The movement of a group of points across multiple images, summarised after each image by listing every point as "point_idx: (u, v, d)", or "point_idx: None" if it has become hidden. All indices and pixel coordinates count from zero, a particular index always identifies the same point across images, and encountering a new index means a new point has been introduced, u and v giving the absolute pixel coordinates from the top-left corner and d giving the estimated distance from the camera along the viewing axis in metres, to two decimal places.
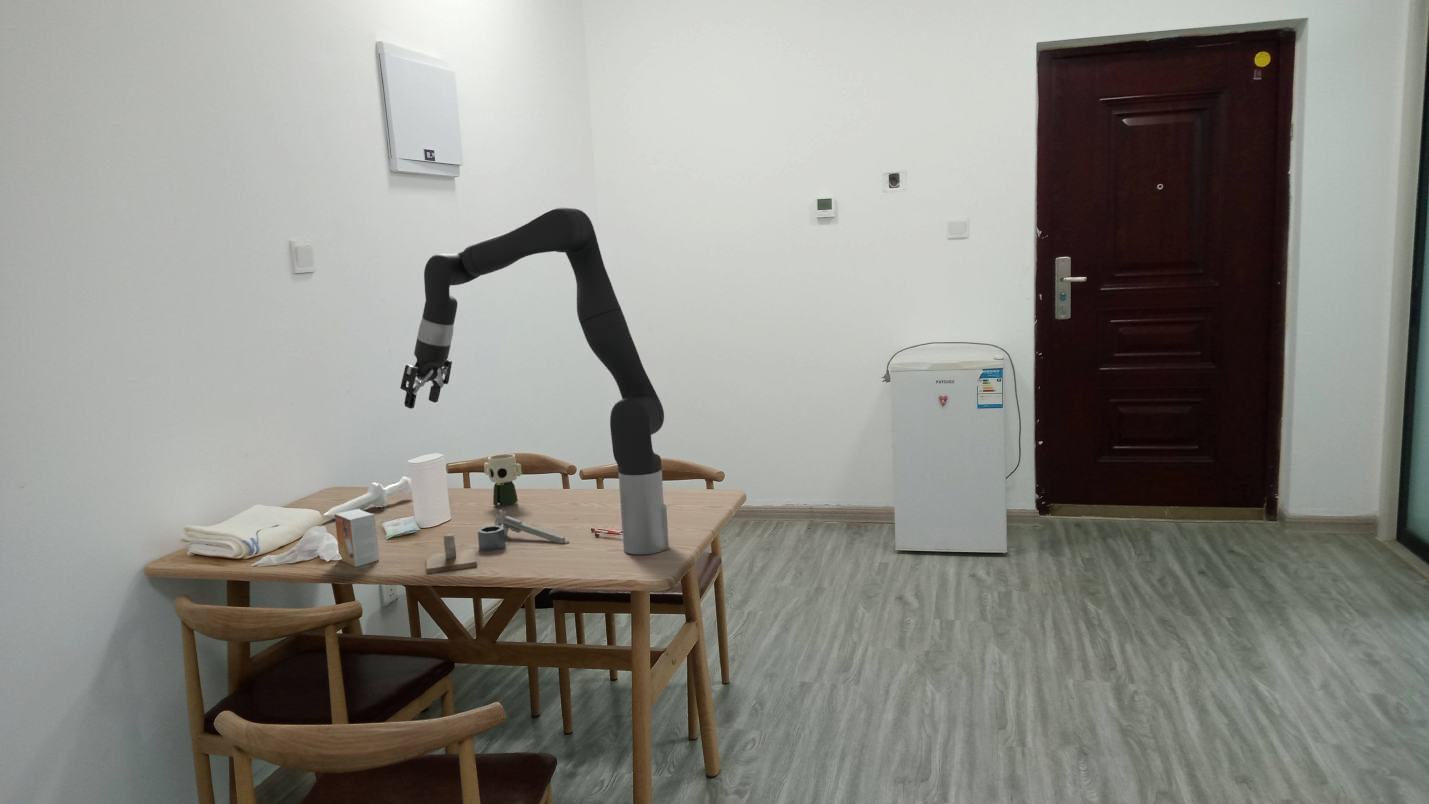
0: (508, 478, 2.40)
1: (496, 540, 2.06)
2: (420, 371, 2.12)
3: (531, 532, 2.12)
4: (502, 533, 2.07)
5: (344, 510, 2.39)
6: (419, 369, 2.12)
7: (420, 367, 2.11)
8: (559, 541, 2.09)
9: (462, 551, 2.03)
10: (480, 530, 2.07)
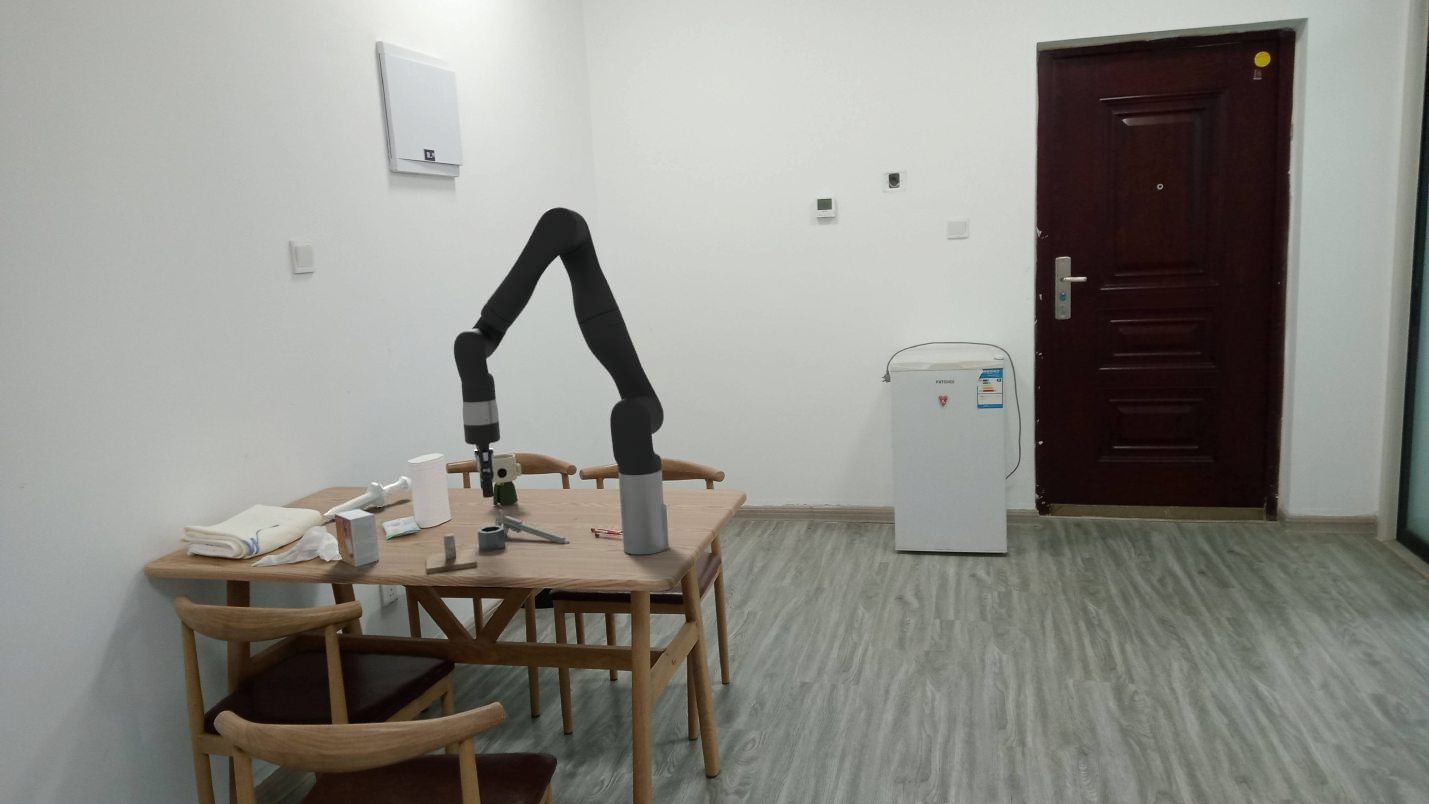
0: (508, 478, 2.40)
1: (496, 540, 2.06)
2: None
3: (531, 532, 2.12)
4: (502, 533, 2.07)
5: (344, 510, 2.39)
6: None
7: (488, 451, 2.02)
8: (559, 541, 2.09)
9: (462, 551, 2.03)
10: (480, 530, 2.07)
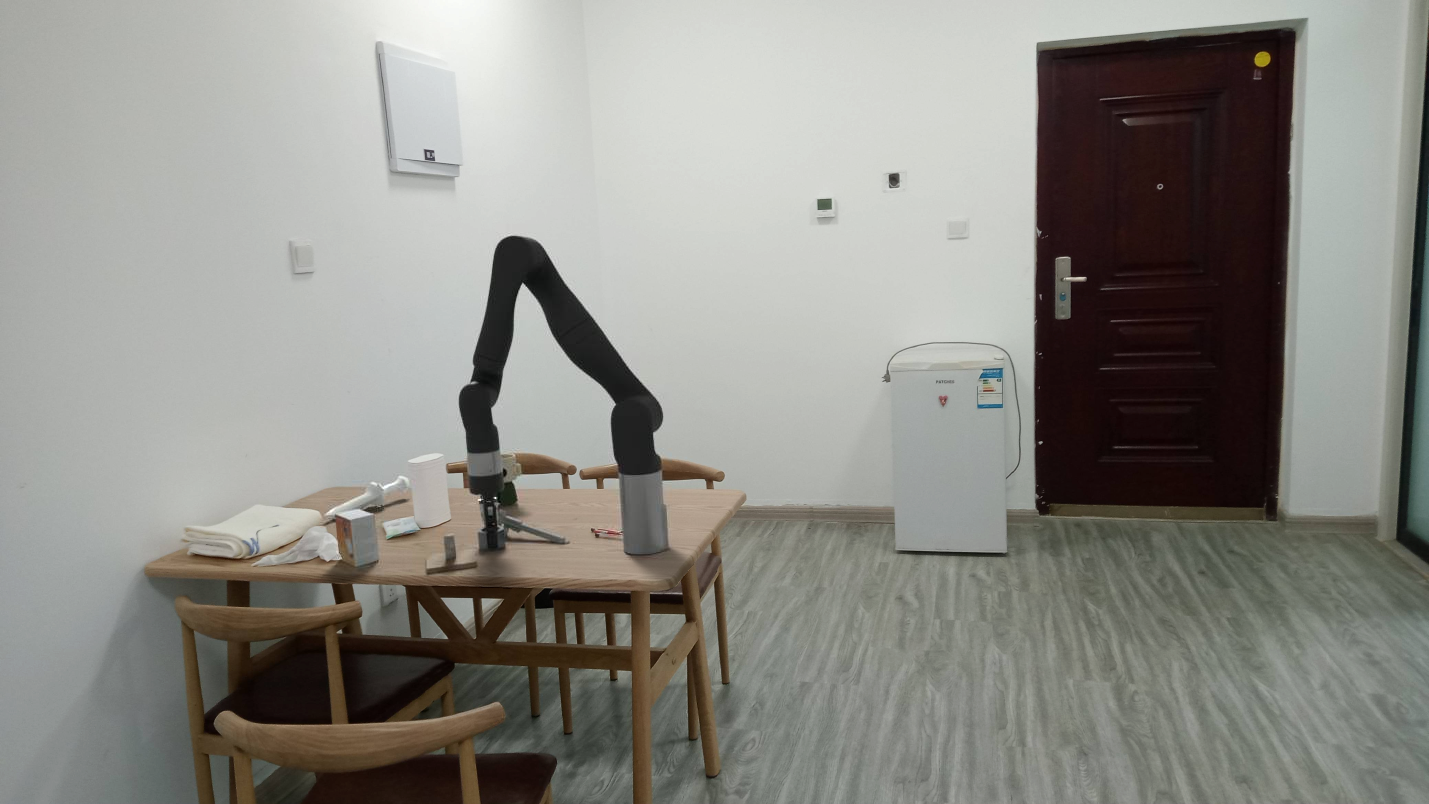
0: (508, 478, 2.40)
1: None
2: (493, 506, 2.04)
3: (531, 532, 2.12)
4: (502, 533, 2.07)
5: (345, 510, 2.39)
6: (492, 505, 2.03)
7: (492, 502, 2.03)
8: (559, 541, 2.09)
9: (462, 551, 2.03)
10: (480, 530, 2.07)
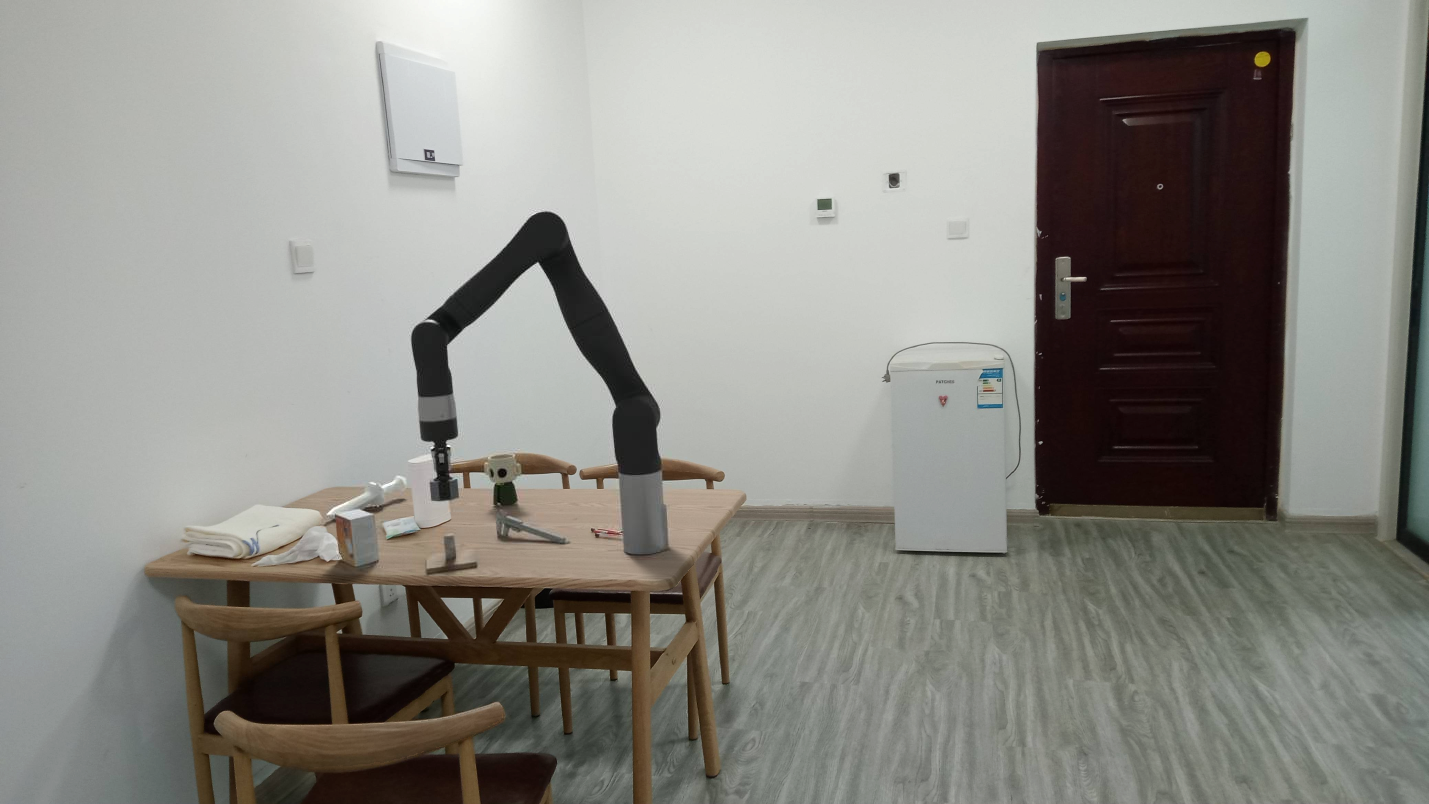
0: (508, 478, 2.40)
1: None
2: None
3: (532, 532, 2.12)
4: (455, 483, 1.95)
5: (345, 510, 2.39)
6: (444, 452, 1.91)
7: (444, 449, 1.91)
8: (560, 541, 2.09)
9: (462, 551, 2.03)
10: (432, 480, 1.95)
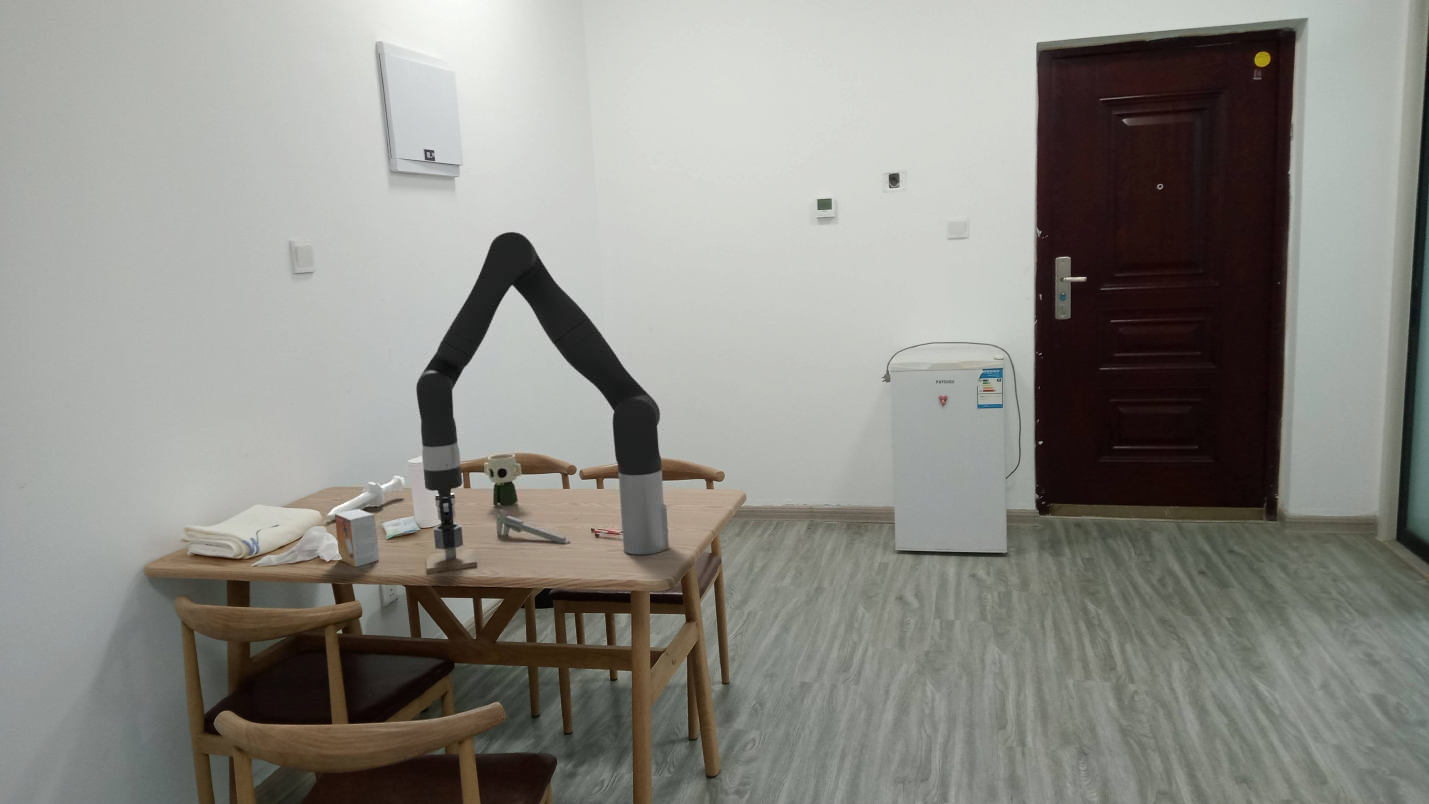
0: (508, 478, 2.40)
1: None
2: None
3: (532, 532, 2.12)
4: (459, 531, 1.97)
5: (346, 510, 2.39)
6: (448, 501, 1.93)
7: (448, 498, 1.93)
8: (560, 541, 2.09)
9: (462, 551, 2.03)
10: (436, 528, 1.97)
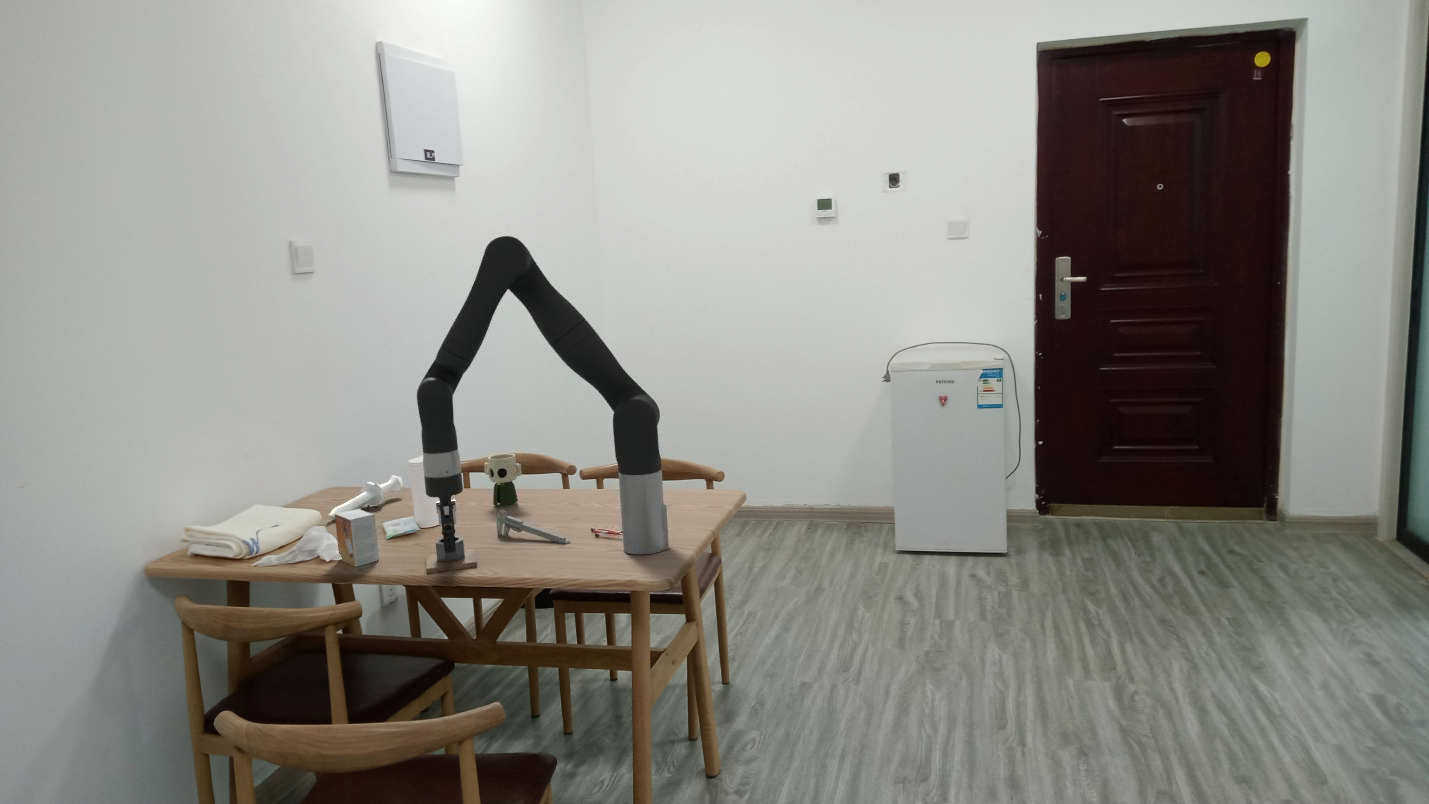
0: (508, 478, 2.40)
1: (455, 552, 1.96)
2: None
3: (532, 532, 2.12)
4: (461, 544, 1.97)
5: (346, 510, 2.40)
6: None
7: (449, 504, 1.93)
8: (560, 541, 2.09)
9: None
10: (438, 541, 1.97)
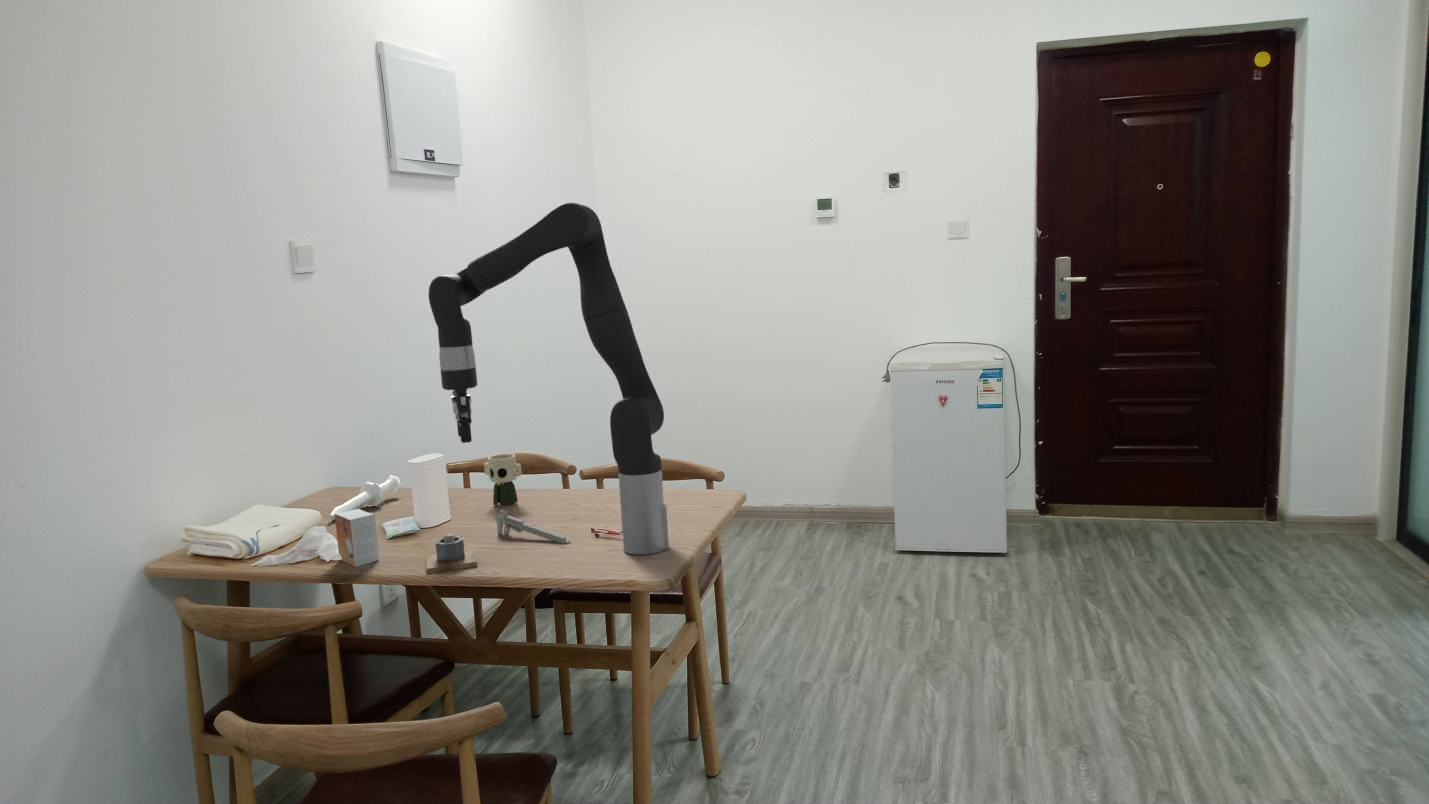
0: (508, 478, 2.40)
1: (455, 552, 1.96)
2: None
3: (532, 532, 2.12)
4: (461, 544, 1.97)
5: (347, 510, 2.40)
6: None
7: (465, 396, 2.03)
8: (560, 541, 2.09)
9: None
10: (438, 541, 1.97)
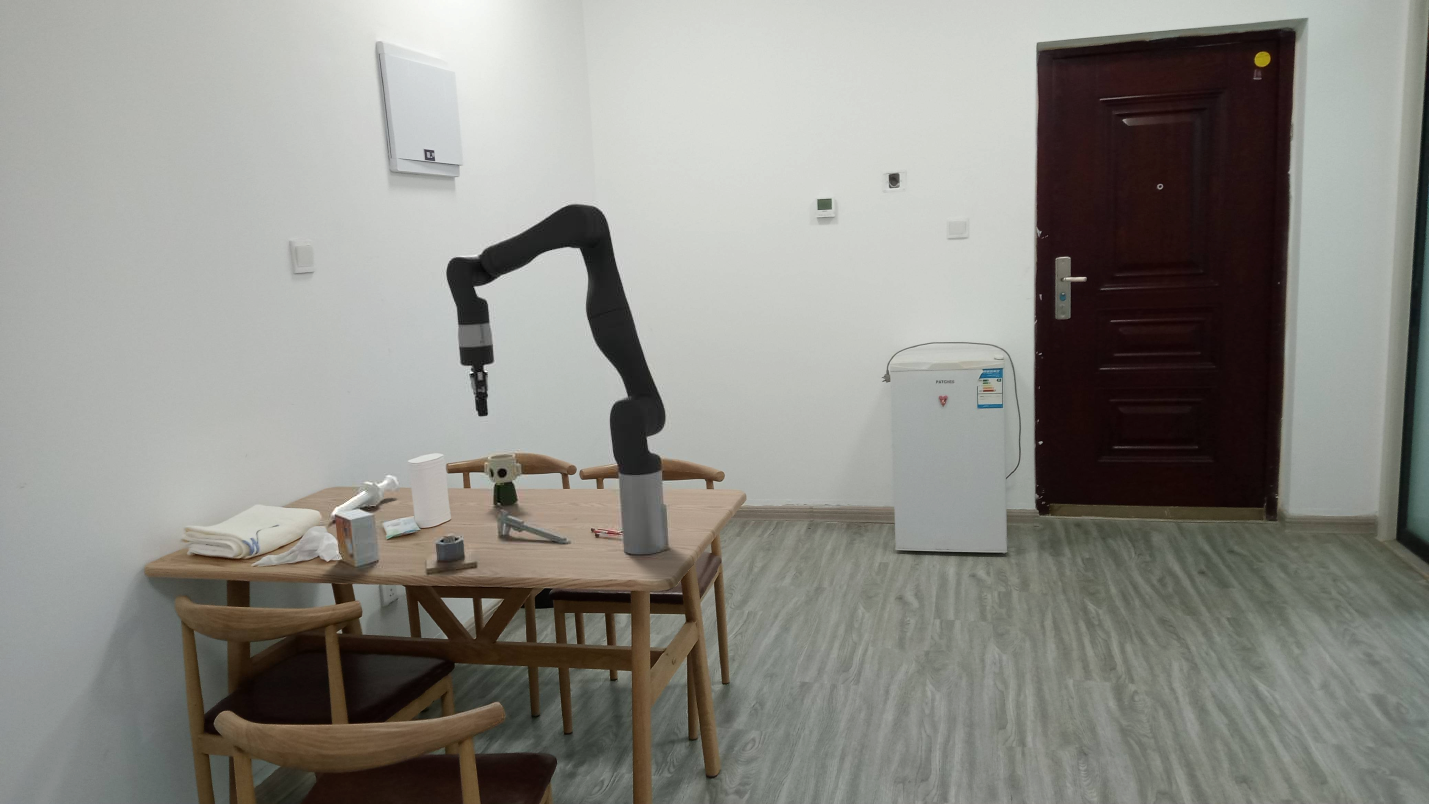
0: (508, 478, 2.40)
1: (455, 552, 1.96)
2: None
3: (533, 532, 2.12)
4: (461, 544, 1.97)
5: (347, 510, 2.40)
6: None
7: None
8: (560, 541, 2.09)
9: None
10: (438, 541, 1.97)
